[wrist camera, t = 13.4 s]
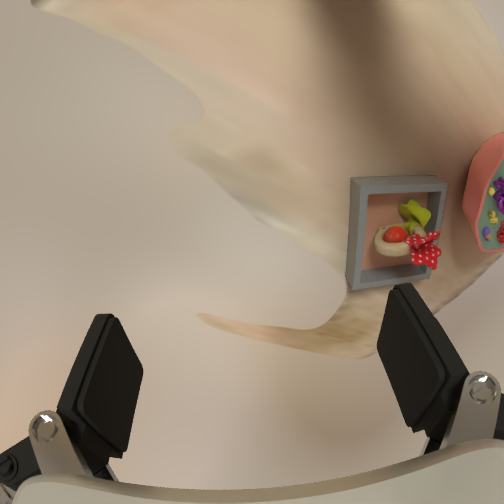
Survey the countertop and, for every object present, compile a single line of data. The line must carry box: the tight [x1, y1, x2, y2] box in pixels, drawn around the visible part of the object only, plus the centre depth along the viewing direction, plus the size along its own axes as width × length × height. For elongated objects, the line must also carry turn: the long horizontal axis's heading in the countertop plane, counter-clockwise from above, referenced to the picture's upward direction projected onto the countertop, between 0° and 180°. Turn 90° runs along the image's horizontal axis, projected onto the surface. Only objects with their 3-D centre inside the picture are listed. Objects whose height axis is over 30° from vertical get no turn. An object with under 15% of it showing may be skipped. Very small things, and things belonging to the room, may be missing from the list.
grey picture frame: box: [345, 175, 448, 290], centre depth 39 cm, size 15×13×4 cm
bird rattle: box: [373, 199, 441, 270], centre depth 36 cm, size 6×11×9 cm
